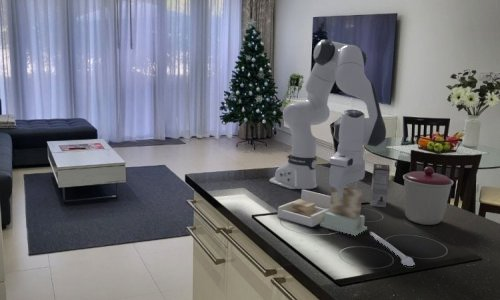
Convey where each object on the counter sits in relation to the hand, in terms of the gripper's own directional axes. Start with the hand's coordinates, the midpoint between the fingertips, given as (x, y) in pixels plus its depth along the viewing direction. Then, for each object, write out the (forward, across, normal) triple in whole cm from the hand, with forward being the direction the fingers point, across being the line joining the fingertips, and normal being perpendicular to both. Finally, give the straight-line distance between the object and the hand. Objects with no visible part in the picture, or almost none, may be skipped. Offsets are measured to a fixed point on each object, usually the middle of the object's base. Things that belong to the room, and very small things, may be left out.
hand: (346, 195), depth 180 cm
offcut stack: (+12, +2, -16) cm, 20 cm away
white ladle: (+13, +8, +20) cm, 25 cm away
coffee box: (+12, -38, -4) cm, 40 cm away
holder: (+12, 0, 0) cm, 12 cm away
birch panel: (+11, 0, 0) cm, 11 cm away
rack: (+12, 0, -16) cm, 20 cm away
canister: (+12, -30, +18) cm, 37 cm away
